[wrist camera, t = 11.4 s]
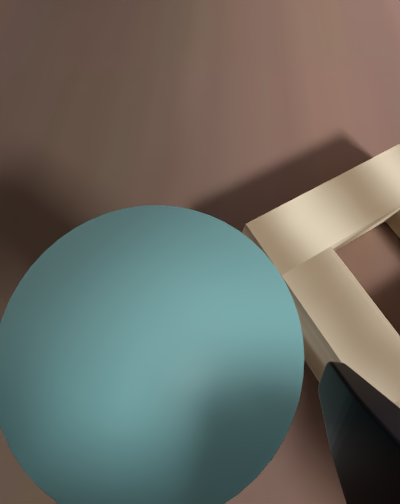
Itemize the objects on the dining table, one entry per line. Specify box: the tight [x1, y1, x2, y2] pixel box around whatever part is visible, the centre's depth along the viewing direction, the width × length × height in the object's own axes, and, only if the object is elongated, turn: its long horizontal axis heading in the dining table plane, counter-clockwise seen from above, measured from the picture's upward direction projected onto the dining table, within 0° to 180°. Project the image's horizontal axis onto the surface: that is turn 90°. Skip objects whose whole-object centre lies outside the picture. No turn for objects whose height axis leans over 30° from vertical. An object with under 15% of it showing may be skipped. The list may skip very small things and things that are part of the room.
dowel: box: [0, 205, 304, 504], centre depth 12 cm, size 5×5×12 cm
